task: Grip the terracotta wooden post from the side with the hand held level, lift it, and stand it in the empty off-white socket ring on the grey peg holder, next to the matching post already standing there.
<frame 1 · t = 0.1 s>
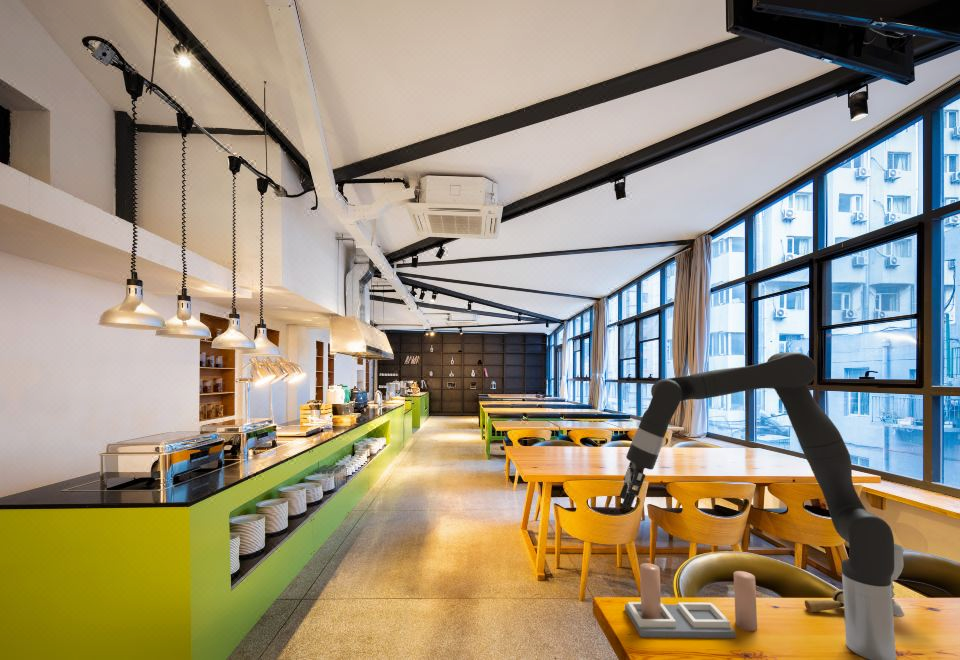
hand: (624, 502, 124), 31 cm above the table, tool tilted 20°, fingers open, 8 cm apart
chalice: (892, 611, 128), on the table
grey peg holder: (677, 623, 122), on the table
kendama: (841, 614, 127), on the table
post: (746, 625, 121), on the table
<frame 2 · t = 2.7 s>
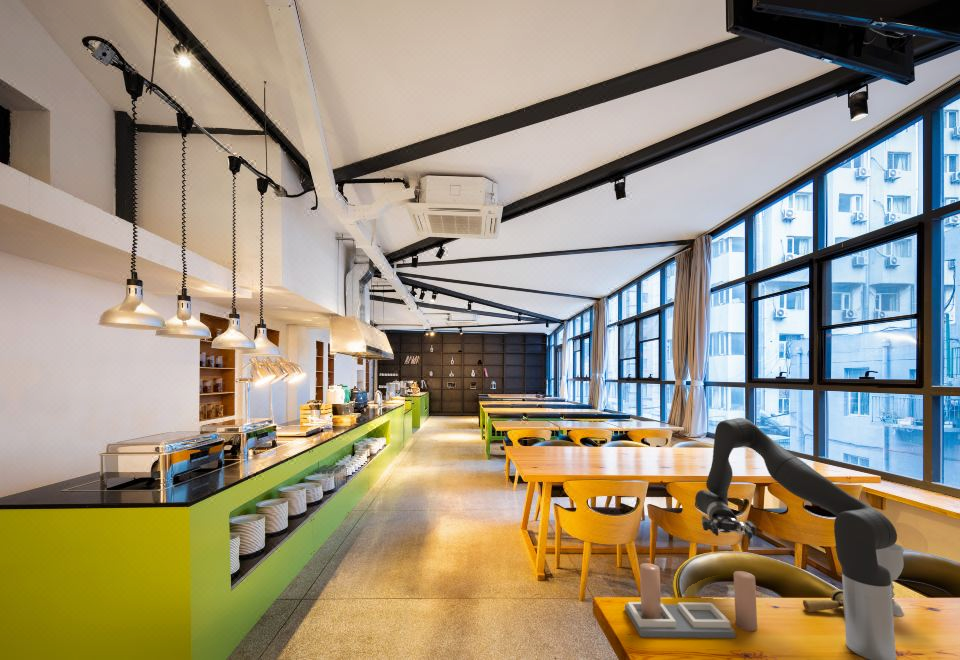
hand: (733, 534, 133), 20 cm above the table, tool horizontal, fingers open, 8 cm apart
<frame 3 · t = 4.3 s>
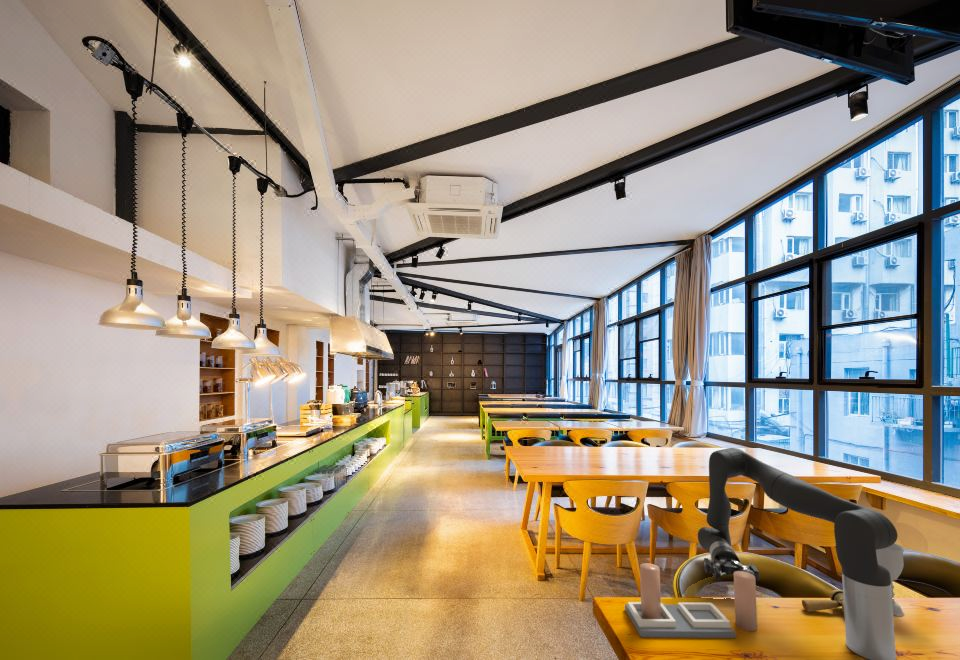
hand: (736, 579, 131), 7 cm above the table, tool horizontal, fingers open, 8 cm apart
nothing on the table moved.
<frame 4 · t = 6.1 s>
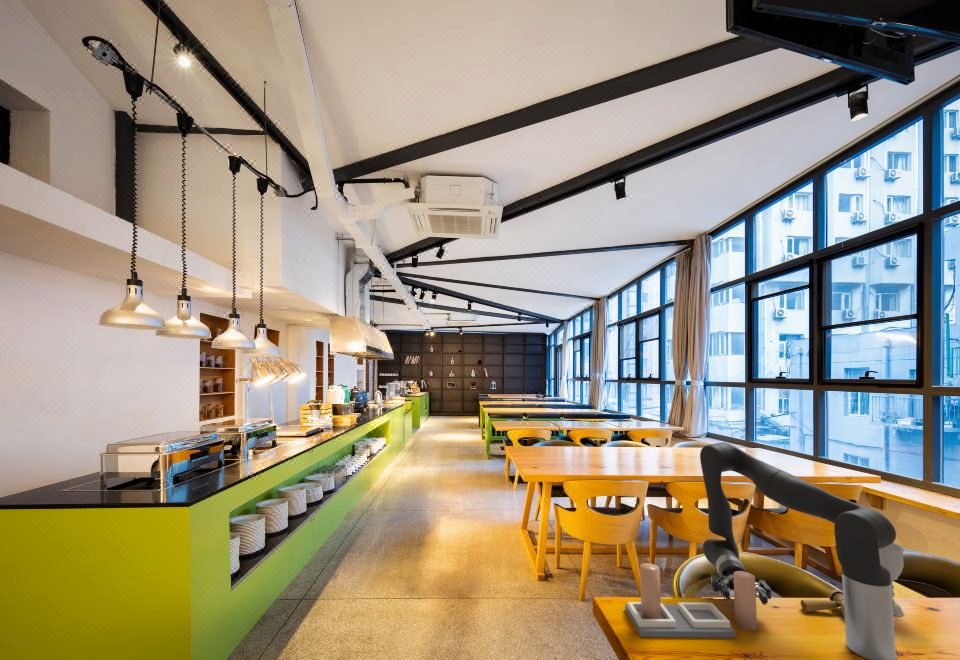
hand: (746, 598, 120), 8 cm above the table, tool horizontal, fingers open, 8 cm apart
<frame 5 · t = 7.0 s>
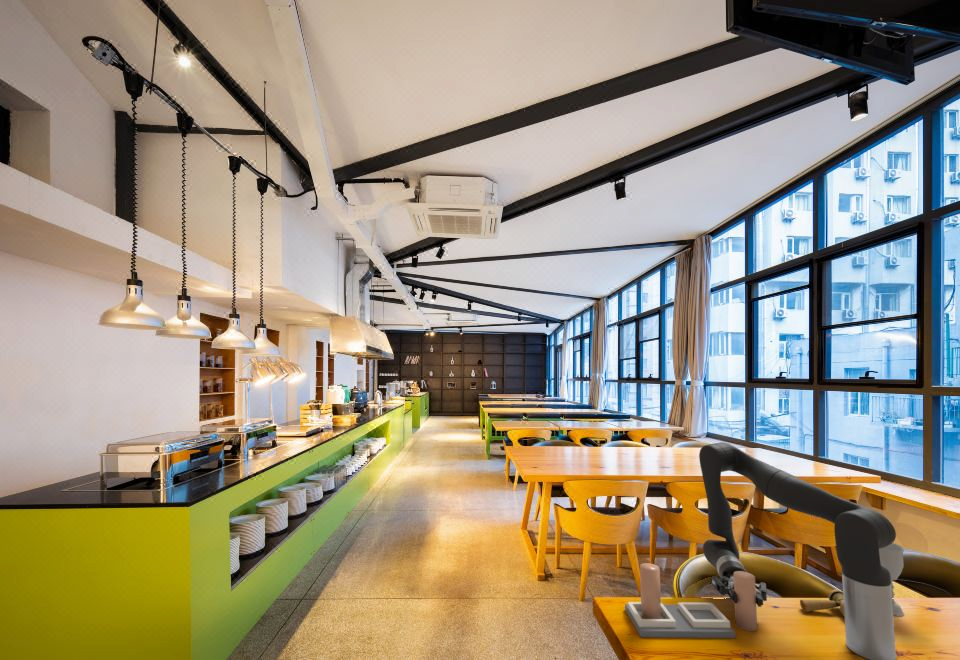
hand: (747, 601, 119), 8 cm above the table, tool horizontal, fingers closed on post, 5 cm apart
post: (746, 625, 121), on the table, touching gripper
when the fingers open (10 cm above the table, at t = 12.1 s): post stays where it is, resting on grey peg holder.
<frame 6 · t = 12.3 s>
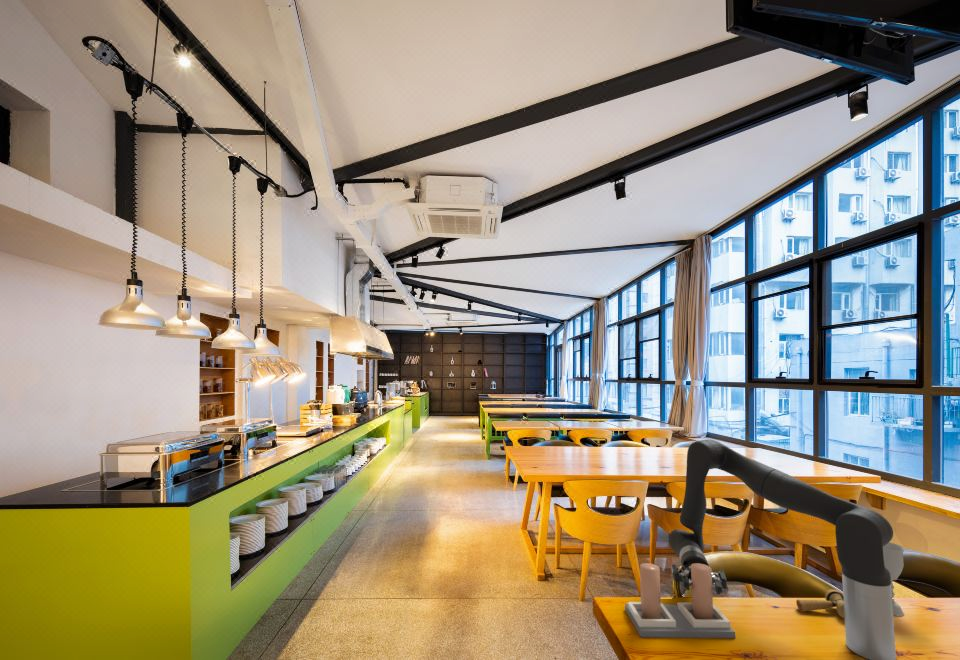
hand: (703, 588, 120), 10 cm above the table, tool horizontal, fingers open, 7 cm apart
post: (702, 617, 122), point 2 cm above the table, touching grey peg holder
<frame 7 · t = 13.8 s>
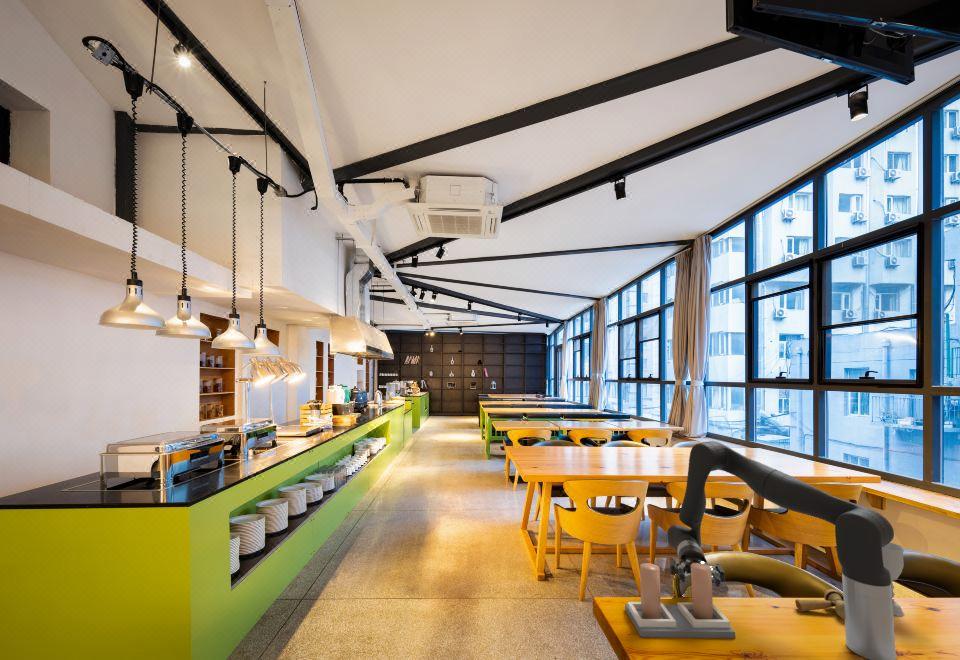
hand: (700, 580, 125), 10 cm above the table, tool horizontal, fingers open, 8 cm apart
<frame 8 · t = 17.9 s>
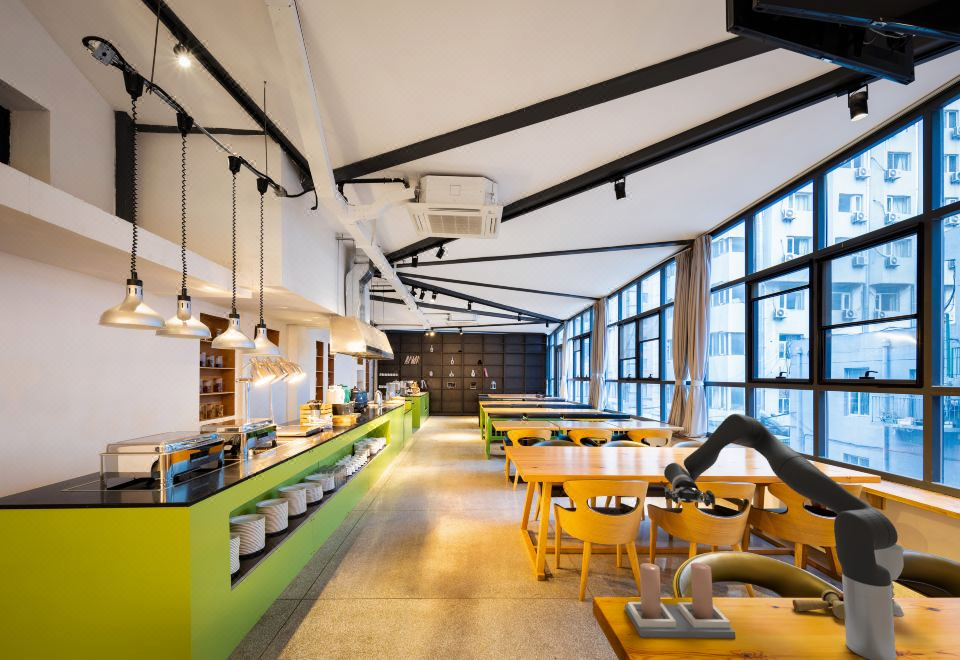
hand: (692, 501, 137), 28 cm above the table, tool horizontal, fingers open, 8 cm apart
at the end: post 0.1 cm from the target spot, point 1.6 cm above the table; post tilted 2°; the gripper is holding nothing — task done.
